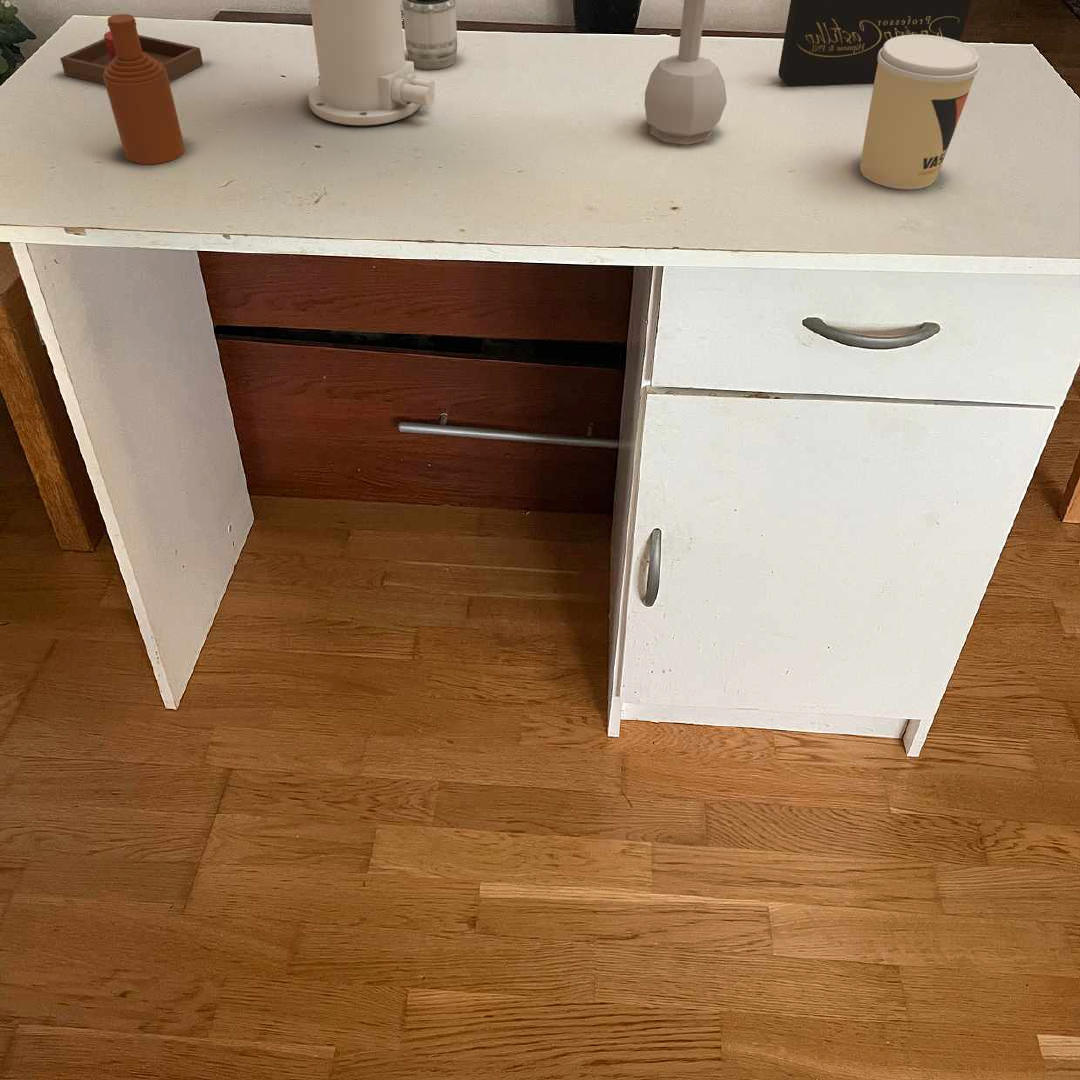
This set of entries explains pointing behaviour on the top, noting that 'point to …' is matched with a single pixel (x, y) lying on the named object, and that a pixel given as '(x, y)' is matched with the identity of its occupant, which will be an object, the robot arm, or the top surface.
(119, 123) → the bottle
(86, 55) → the tray
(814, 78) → the nameplate
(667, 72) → the potion bottle
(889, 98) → the coffee cup
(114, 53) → the cap
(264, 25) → the top surface
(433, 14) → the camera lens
